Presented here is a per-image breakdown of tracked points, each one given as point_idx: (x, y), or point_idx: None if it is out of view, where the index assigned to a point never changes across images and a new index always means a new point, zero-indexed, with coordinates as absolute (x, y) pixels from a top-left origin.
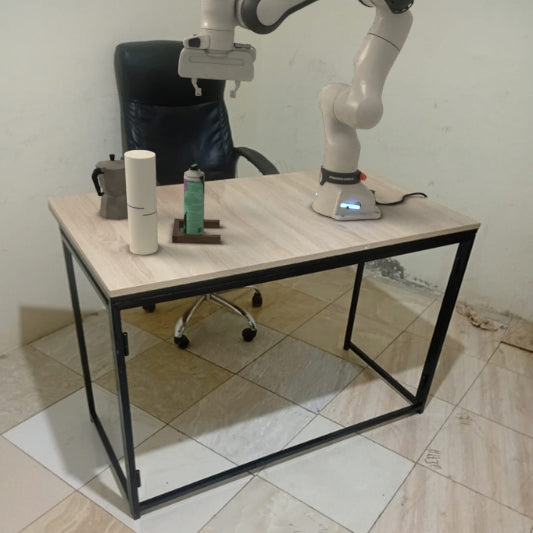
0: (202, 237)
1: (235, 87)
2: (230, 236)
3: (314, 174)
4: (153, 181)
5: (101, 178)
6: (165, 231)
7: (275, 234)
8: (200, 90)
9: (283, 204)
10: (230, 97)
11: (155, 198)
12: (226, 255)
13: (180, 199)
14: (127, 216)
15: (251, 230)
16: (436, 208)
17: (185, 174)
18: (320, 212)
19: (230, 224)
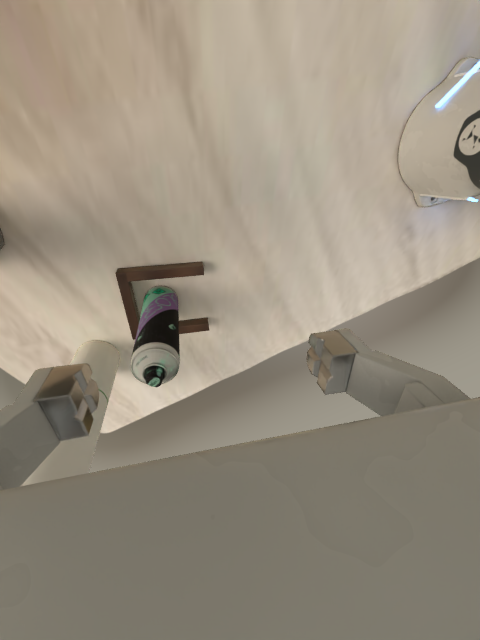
0: (181, 332)
1: (378, 391)
2: (222, 298)
3: None
4: (93, 455)
5: None
6: (110, 297)
7: (293, 280)
8: (85, 427)
9: (346, 113)
10: (307, 362)
11: (102, 422)
12: (217, 353)
13: (81, 97)
14: (2, 246)
15: (257, 271)
16: None
17: (136, 375)
18: (403, 175)
19: (221, 251)
